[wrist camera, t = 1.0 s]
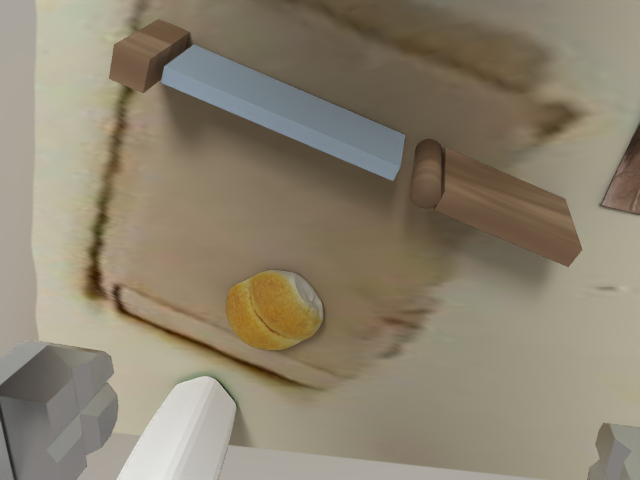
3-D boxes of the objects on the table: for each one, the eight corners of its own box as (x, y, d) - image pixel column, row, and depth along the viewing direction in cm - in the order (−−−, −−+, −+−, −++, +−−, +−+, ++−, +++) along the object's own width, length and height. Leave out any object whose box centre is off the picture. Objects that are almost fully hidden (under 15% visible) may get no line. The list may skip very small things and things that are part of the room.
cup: (162, 378, 65) (96, 500, 53) (215, 362, 62) (157, 487, 50) (200, 422, 68) (145, 547, 56) (251, 408, 65) (206, 537, 53)
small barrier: (158, 19, 43) (114, 44, 38) (568, 195, 45) (585, 245, 39) (152, 49, 45) (108, 78, 39) (550, 219, 46) (564, 271, 40)
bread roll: (215, 291, 57) (201, 317, 54) (287, 253, 53) (276, 279, 50) (267, 348, 60) (257, 377, 56) (339, 316, 56) (332, 345, 53)
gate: (193, 44, 44) (164, 66, 39) (405, 134, 44) (400, 166, 40) (190, 59, 44) (160, 82, 40) (398, 148, 45) (393, 181, 40)
